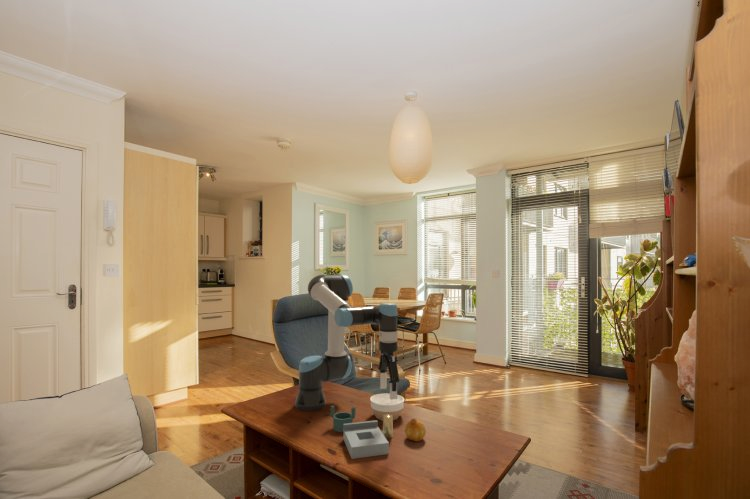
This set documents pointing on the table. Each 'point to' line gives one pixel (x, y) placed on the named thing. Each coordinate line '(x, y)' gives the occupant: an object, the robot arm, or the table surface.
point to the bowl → (386, 405)
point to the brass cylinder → (388, 426)
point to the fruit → (415, 430)
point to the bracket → (342, 418)
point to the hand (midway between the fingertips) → (388, 393)
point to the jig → (364, 439)
